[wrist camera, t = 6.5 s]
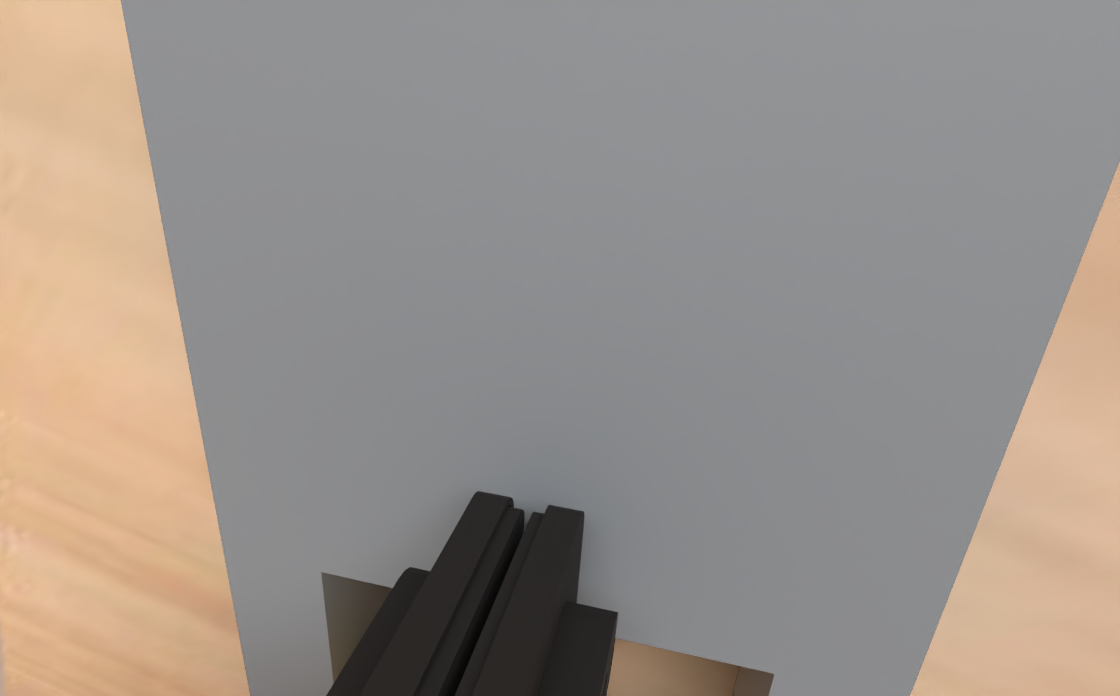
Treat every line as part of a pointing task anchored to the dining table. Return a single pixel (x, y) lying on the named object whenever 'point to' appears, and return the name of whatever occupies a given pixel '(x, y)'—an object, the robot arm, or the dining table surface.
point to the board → (622, 298)
